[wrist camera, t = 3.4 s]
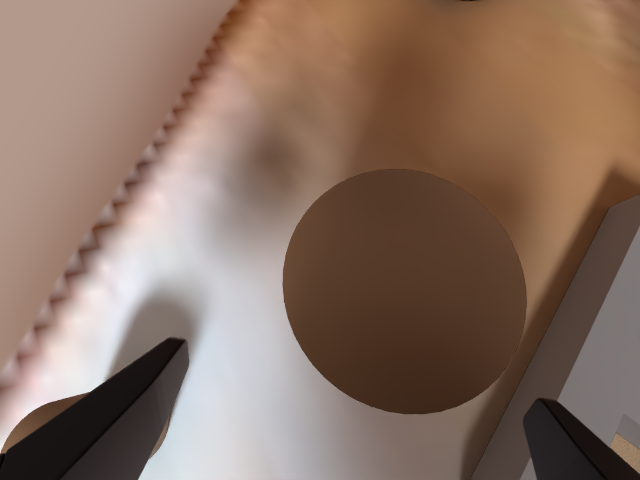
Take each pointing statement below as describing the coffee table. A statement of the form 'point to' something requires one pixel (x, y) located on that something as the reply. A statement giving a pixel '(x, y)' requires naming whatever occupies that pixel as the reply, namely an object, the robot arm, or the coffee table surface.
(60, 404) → the short pin
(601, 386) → the pin board
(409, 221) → the tall pin
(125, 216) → the coffee table surface
